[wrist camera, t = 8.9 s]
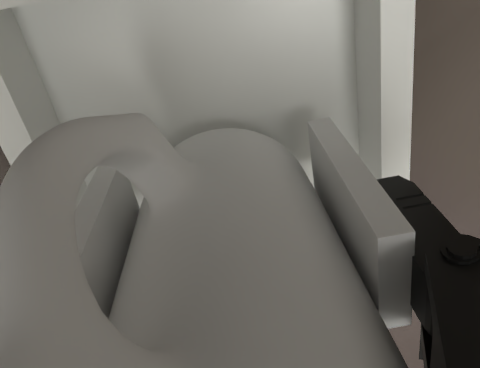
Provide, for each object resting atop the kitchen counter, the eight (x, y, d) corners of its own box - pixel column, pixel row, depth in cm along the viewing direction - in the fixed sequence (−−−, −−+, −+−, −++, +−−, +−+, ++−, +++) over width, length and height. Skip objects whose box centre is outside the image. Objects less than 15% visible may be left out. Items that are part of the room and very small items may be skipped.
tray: (-27, -24, 13) (-85, -19, 10) (375, -108, 13) (419, -124, 10) (122, 306, 20) (110, 358, 18) (379, 258, 20) (405, 304, 18)
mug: (343, 221, 17) (576, 668, 6) (205, 293, 18) (208, 760, 8) (203, -11, 12) (208, 208, 2) (33, 108, 13) (-550, 643, 3)
